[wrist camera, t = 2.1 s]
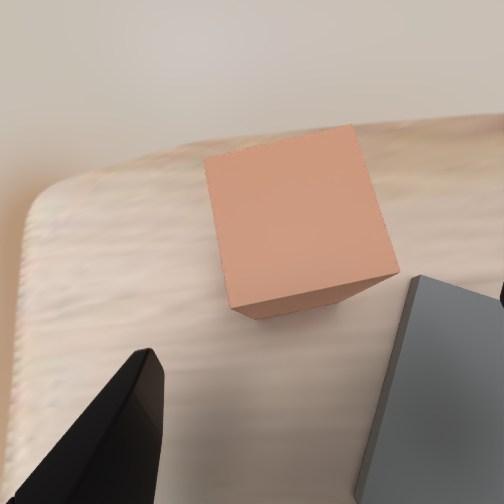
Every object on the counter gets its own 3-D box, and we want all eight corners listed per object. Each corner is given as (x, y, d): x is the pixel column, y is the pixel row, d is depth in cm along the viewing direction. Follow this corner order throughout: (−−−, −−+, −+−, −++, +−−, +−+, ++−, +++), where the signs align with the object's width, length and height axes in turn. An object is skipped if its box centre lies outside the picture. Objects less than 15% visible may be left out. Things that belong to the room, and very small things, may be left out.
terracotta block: (338, 302, 19) (400, 271, 9) (256, 319, 19) (230, 308, 9) (317, 223, 20) (352, 124, 10) (240, 240, 20) (202, 158, 11)
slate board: (567, 592, 15) (591, 615, 14) (353, 495, 16) (359, 508, 15) (601, 340, 17) (625, 341, 16) (412, 278, 19) (420, 274, 18)
